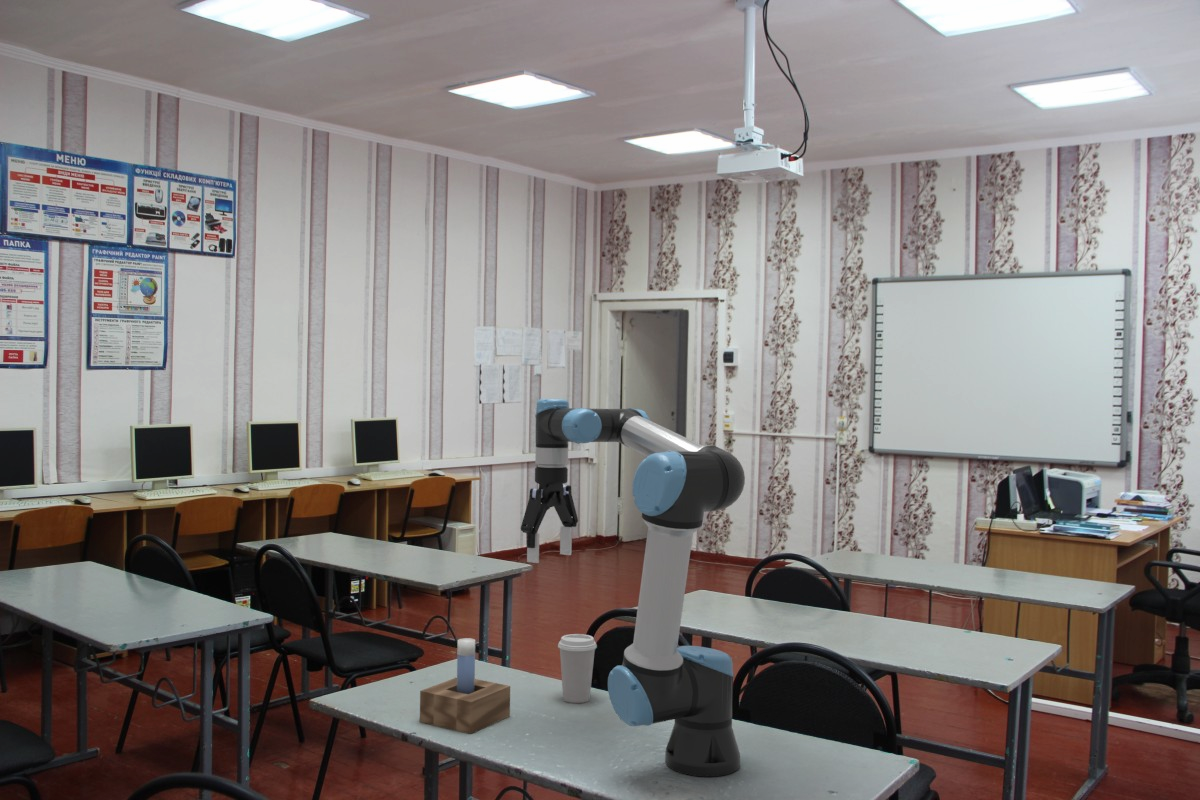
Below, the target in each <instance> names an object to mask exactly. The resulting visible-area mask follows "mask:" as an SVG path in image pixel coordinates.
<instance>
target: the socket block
mask: <svg viewBox="0 0 1200 800" xmlns="http://www.w3.org/2000/svg"><path fill="white" fill-rule="evenodd" d="M419 692H420V693H419V694H420V695H419V723H423V724H425V725H426V724H427V725H431V726H435V727H439V728H444V729H448V730H452V731H456V732H461V733H465V734H468V735H472V734H474V733H477V732H479V731H481V730H483V729H485V728H487V727H489V726H492V725H494V724H496V723H498V722H501V721H502V720H505V719H507V718H509V717H511V685H507V684H502V683H497V682H492V681H487V680H482V679H477V678H475V686H474V692H473V693H470V694H464V693H459V692H457V677H454V678H452V679H449V680H446V681H444V682H441V683H438V684H435V685H433V686H430V687H427V688H423V689H422V690H420V691H419Z"/></svg>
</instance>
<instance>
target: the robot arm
mask: <svg viewBox="0 0 1200 800" xmlns="http://www.w3.org/2000/svg"><path fill="white" fill-rule="evenodd" d="M535 409H536V412H535V453H534V454H535V457H534V458H535V465H537V466H536V467H535V468H534V483H536V484H538V488H530V489H529V496H528V497H529V498H528V502H527V505H526V509H525V512H524V516H523V518H522V521H521V522H522V523H521V525H520V531H522V533H524V534H526V548H527V550H526V562H527V563H533V564H539V563H540V533H538V531H539V528H540V527H541V524H542V522H543V520H544V517H545V516H546V513H547V511H548V510H550V509H551V508H553V507H554V510H555V512H556V514H557V515H558V518H559V520H560V522H561V524H562V526H560V530H559V531H560V533H559V535H560V536H559V539H560V540H559V555H564V556H571V555H572V549H573V547H572V544H573V543H572V541H573V540H572V539H573V528H576V527H577V525H578V522H579V518H578V514H577V511H576V507H575V503H574V498H573V495H572V485H568V484H567V483H568V475H569V474H568V471H569V470H568V467H566V466H567V465H569V443H570V442H571V443H574V444H588V443H620V444H621V445H623V446H625V447H627V448H630V449H631V450H633V451H634V452H635V451H636V452H637V453H639V454H640V455H643V456H644V457H646V458H644V459H643V460H642V461H641V462H640V463H639V465H637V466H638V467H637V469H636V471H635V473H634V477H633V480H632V496H633V497H634V499H633V501H634V504H635V506H636V508H637V509H638V511H639V512H640V513H641V520H642V521H643V522H644V523H645V525H646V526H647V535H646V543H645V551H644V558H643V565H642V572H641V573H642V574H641V581H640V588H639V595H638V603H637V611H636V618H635V619H636V620H635V626H634V634H633V640H632V641H633V643H631V644H630V645H628V646H627V647H626V648H625V649H624V651H623V657H622V658H623V660H622V664H621V665H616V666H615V667H613V668H612V670H610V672H609V674H608V677H607V691H608V697H609V701H610V704H611V706H612V708H613V710H614V712H615V714H616V716H617V717H618V718H619V719H620V720H621V721H622V722H623V723H624V724H625V725H628V726H630V727H640V726H647V727H648V726H651V725H654V724H658V723H662V722H667V721H673V720H674V724H673V726H672V731H671V733H670V736H669V739H668V742H667V745H666V748H665V753H664V754H665V758H664V759H665V760H664V761H665V764H666V766H667V767H669V769H671V770H673V771H675V772H678V773H681V774H684V775H689V776H694V777H721V776H727V775H730V774H732V773H735V772H737V771H738V770H739V769H740V766H741V753H740V750H739V749H740V748H739V746H738V742H737V739H736V736H735V733H734V729H733V699H734V695H733V693H734V692H733V691H734V677H735V674H734V668H733V666H734V665H733V659H732V656H730V655H729V654H728V653H727V652H724V651H722V650H718V649H717V648H716V649H715V648H710V647H705V646H700V645H699V646H697V645H680V646H678V644H679V639H680V638H679V636H680V632H681V631H680V629H681V623H682V615H683V607H684V601H685V593H686V586H687V579H688V571H689V565H690V557H691V551H692V550H691V549H692V544H693V535H694V533H696V532H697V531H699V530H700V529H702V527H703V523H704V514H705V513H706V512H717V511H722V510H724V509H728V507H730V506H733V504H734V503H736V502H737V500H738V499H739V498H740V496H741V495H742V493H743V491H744V488H745V483H746V481H745V479H746V475H745V471H744V467H743V466H742V464H741V462H740V461H739V459H738V458H737V457H736V456H735V455H733V454H732V453H730V452H729V451H726V450H725V449H722V448H721V447H719V446H716V445H712V444H708V445H707V444H706V445H702V444H700V443H698V442H696V441H694V440H691V439H689V438H688V437H686V436H683V435H681V434H679V433H677V432H674V431H673V430H671V429H668V428H667V427H665V426H663V425H660V424H658V423H655V422H654V421H651V419H650V417H649V415H647V412H646V411H644V410H642V409H637V408H636V409H635V408H631V407H630V408H628V407H627V408H584V407H583V408H581V407H577V408H570V403H569V401H568V400H567V399H564V398H563V399H560V398H557V399H556V398H539V400H537V403H536V408H535Z"/></svg>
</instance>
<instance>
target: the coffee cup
mask: <svg viewBox="0 0 1200 800" xmlns="http://www.w3.org/2000/svg"><path fill="white" fill-rule="evenodd" d="M557 648H558V649H559V655H560V656H559V657H560V670H561V687H562V688H561V689H562V700H563V701H564V702H565V703H566V702H567V703H571V704H582V703H587V702H589V701H590V697H591V689H592V679H593V672H594V670H593V669H594V659H595V651H596V649H597V648H598V645H597V643H596V641H595V639H594V637H593V636H592V635H589V634H583V633H573V634H564V635H563V636H561V637H560V641H558V644H557Z"/></svg>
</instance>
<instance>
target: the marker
mask: <svg viewBox="0 0 1200 800" xmlns="http://www.w3.org/2000/svg"><path fill="white" fill-rule="evenodd" d="M456 655H457V656H456V659H457V661H456V663H457V664H456V678H457V692H459V693H464V694H470V693H473V692H474V686H475V679H476V677H475V676H476V672H475V671H476V639H474V638H471V637H469V638H468V637H465V638H459V639H457V653H456Z"/></svg>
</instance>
